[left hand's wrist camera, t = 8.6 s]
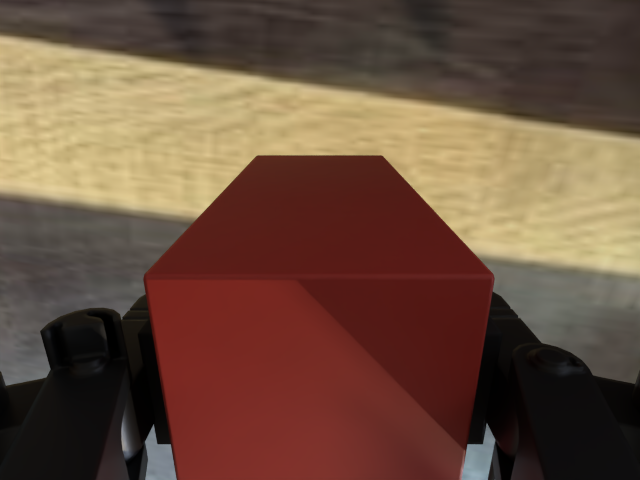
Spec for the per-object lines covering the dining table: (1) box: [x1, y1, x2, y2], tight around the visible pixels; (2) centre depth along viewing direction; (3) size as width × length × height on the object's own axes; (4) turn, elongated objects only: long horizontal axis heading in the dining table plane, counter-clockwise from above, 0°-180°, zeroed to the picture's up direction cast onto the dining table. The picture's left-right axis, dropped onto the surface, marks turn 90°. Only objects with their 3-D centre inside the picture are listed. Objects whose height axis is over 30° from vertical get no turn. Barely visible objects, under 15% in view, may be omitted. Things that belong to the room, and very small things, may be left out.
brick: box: [144, 156, 494, 480], centre depth 13 cm, size 5×6×12 cm
